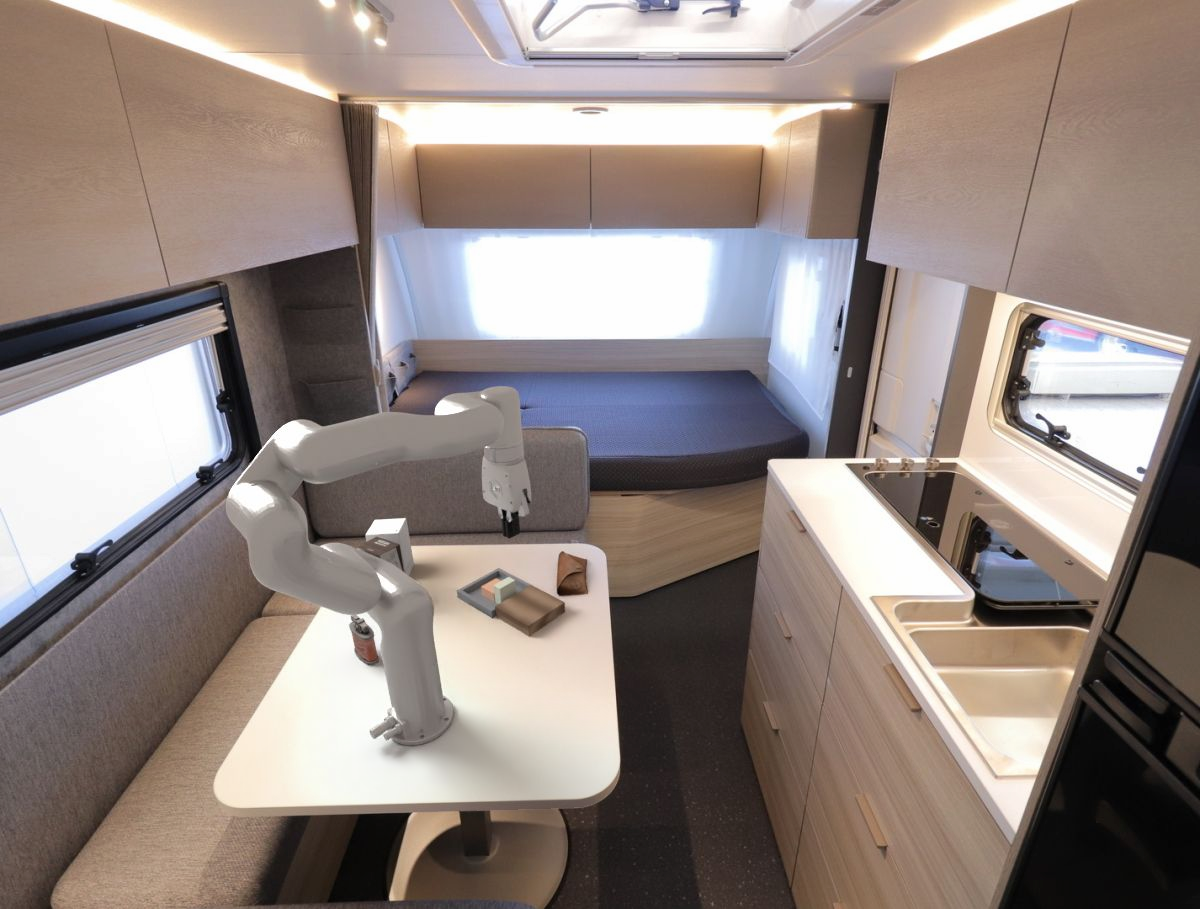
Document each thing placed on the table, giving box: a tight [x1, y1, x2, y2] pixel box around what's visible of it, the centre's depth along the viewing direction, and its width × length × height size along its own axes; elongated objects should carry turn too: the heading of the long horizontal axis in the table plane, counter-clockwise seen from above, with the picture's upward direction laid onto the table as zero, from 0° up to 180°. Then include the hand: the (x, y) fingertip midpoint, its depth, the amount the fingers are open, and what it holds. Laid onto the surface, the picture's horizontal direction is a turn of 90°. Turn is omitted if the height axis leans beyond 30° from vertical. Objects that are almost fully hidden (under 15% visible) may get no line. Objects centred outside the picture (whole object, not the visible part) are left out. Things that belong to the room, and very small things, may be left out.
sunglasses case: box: [556, 550, 589, 597], centre depth 167 cm, size 18×7×7 cm
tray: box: [456, 567, 534, 619], centre depth 159 cm, size 14×14×2 cm
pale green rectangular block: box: [493, 577, 516, 604], centre depth 156 cm, size 5×5×2 cm
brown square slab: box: [495, 584, 566, 637], centre depth 151 cm, size 12×12×3 cm
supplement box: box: [364, 517, 415, 576], centre depth 168 cm, size 9×9×15 cm
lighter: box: [348, 615, 380, 667], centre depth 137 cm, size 8×3×10 cm, turn 47°
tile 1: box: [481, 578, 500, 602], centre depth 159 cm, size 5×5×2 cm
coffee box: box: [356, 537, 404, 572], centre depth 156 cm, size 9×6×16 cm
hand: (511, 534), depth 125 cm, fingers closed
